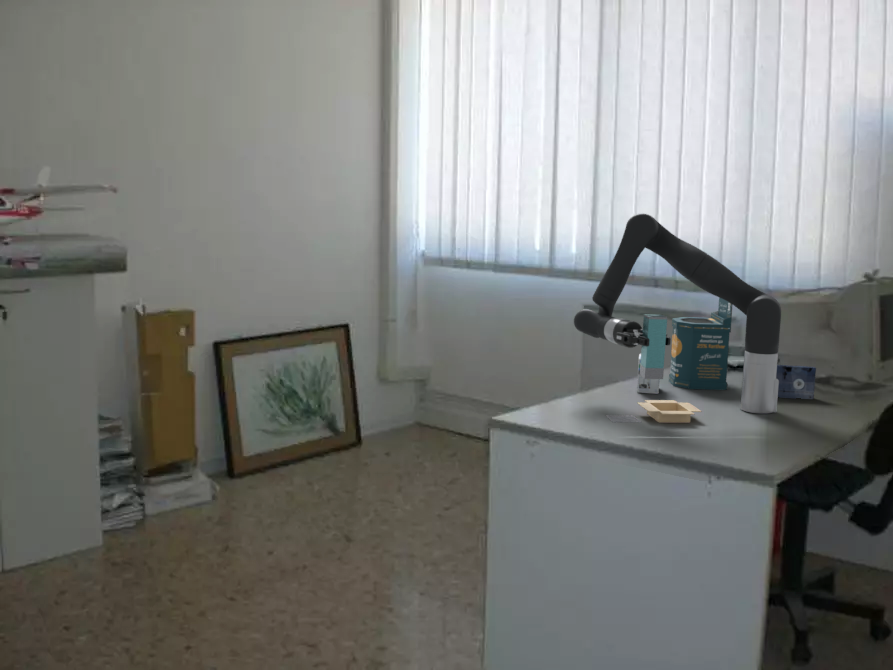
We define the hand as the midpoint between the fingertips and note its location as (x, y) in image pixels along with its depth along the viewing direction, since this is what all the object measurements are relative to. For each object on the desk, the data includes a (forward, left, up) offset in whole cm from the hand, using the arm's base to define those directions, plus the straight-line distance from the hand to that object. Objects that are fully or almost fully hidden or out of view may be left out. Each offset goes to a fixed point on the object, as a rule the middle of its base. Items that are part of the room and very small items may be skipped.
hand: (658, 342), depth 277 cm
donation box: (-30, -51, -22) cm, 63 cm away
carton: (-5, -2, -22) cm, 22 cm away
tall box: (+1, -2, -10) cm, 10 cm away
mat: (+8, -1, -22) cm, 23 cm away
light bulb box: (-11, -41, -22) cm, 48 cm away
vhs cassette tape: (-51, -32, -22) cm, 64 cm away
